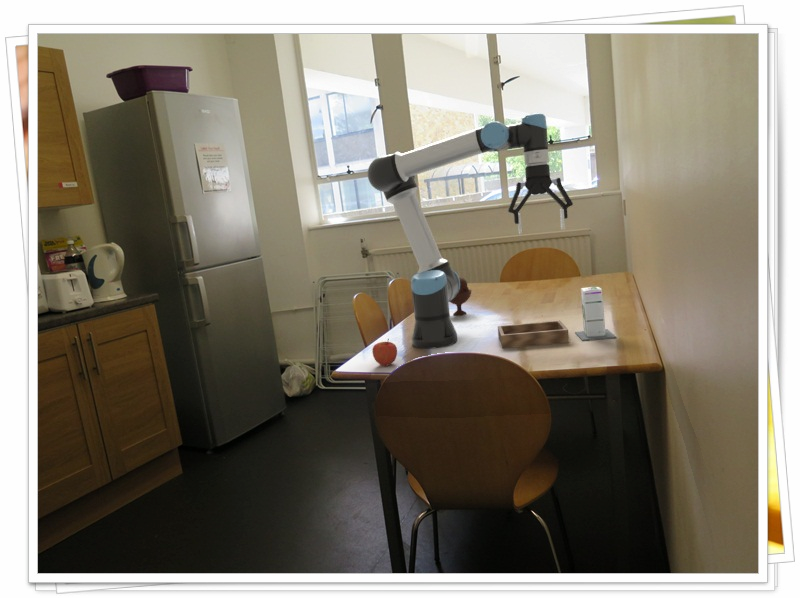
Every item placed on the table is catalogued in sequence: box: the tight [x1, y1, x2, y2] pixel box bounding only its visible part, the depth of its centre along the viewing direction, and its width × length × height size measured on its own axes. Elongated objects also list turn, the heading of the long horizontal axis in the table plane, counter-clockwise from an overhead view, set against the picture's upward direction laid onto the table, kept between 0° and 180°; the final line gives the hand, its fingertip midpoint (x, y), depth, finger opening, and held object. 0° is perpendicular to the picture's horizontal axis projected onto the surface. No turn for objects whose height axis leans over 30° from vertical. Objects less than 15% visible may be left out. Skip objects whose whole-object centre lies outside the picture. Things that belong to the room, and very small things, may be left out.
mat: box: [574, 328, 617, 342], centre depth 176 cm, size 10×10×1 cm
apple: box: [371, 338, 398, 367], centre depth 169 cm, size 7×7×8 cm
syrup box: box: [580, 286, 606, 337], centre depth 175 cm, size 6×6×14 cm
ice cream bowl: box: [449, 277, 472, 317], centre depth 229 cm, size 11×11×15 cm
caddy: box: [497, 320, 570, 349], centre depth 179 cm, size 20×13×4 cm, turn 85°
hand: (541, 231), depth 185 cm, fingers open, 13 cm apart
